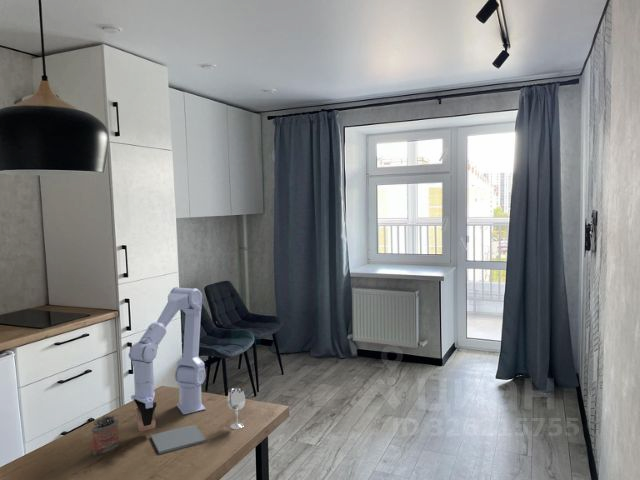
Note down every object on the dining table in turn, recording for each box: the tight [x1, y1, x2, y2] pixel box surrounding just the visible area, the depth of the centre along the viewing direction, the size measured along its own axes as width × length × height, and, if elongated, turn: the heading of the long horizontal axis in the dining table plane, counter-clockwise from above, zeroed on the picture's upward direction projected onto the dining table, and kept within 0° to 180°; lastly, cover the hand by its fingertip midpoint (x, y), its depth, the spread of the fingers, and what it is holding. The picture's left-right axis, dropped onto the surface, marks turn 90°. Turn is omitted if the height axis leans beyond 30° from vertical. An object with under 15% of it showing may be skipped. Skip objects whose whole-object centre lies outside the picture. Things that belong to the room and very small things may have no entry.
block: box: [135, 407, 157, 432], centre depth 154 cm, size 4×5×6 cm
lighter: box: [91, 414, 120, 456], centre depth 146 cm, size 8×3×10 cm, turn 145°
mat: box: [150, 424, 207, 455], centre depth 151 cm, size 12×14×1 cm
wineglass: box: [226, 387, 246, 430], centre depth 159 cm, size 6×6×12 cm
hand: (145, 422), depth 154 cm, fingers closed on block, 4 cm apart
